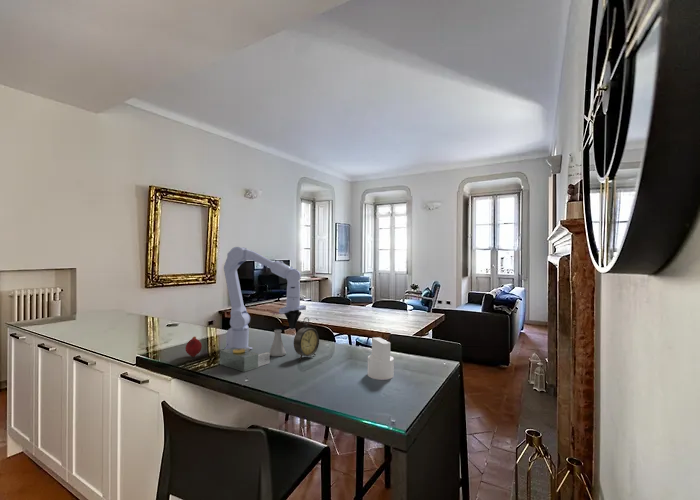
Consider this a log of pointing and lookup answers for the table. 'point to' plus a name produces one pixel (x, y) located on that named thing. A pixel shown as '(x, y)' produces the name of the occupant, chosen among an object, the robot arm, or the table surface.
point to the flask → (277, 345)
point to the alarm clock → (306, 341)
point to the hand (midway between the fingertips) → (292, 328)
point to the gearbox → (243, 358)
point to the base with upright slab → (380, 360)
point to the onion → (193, 347)
